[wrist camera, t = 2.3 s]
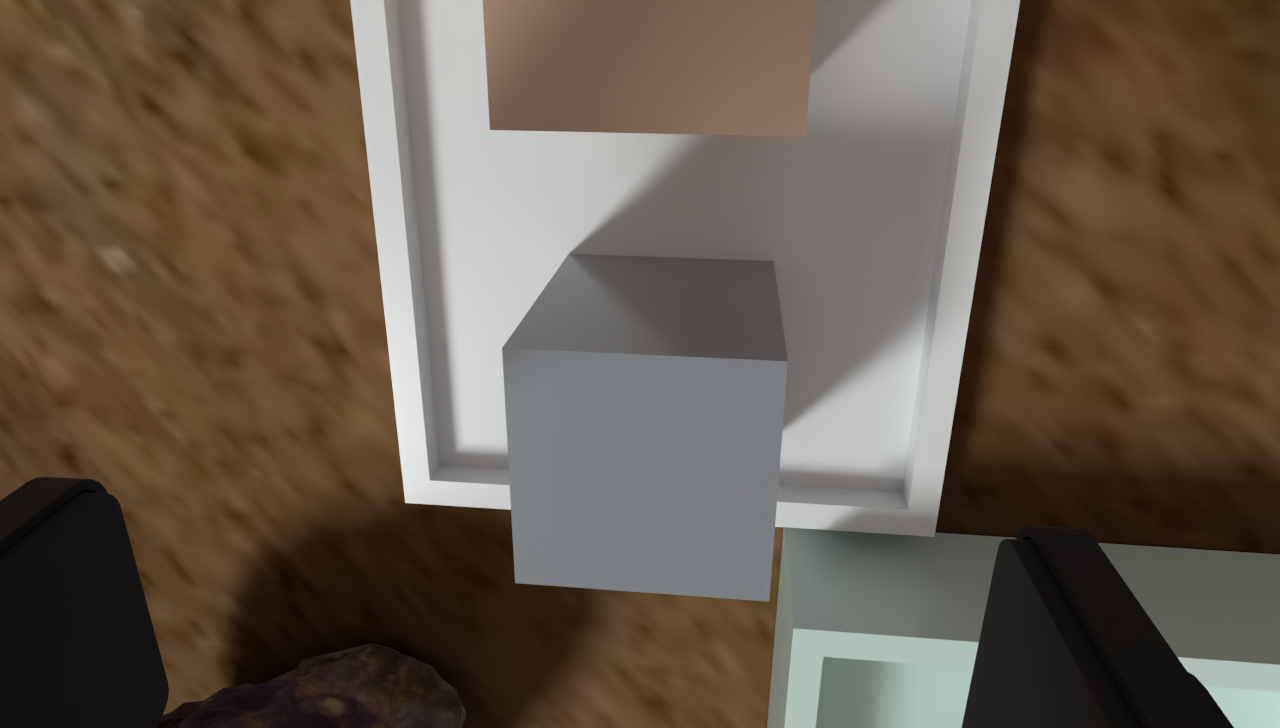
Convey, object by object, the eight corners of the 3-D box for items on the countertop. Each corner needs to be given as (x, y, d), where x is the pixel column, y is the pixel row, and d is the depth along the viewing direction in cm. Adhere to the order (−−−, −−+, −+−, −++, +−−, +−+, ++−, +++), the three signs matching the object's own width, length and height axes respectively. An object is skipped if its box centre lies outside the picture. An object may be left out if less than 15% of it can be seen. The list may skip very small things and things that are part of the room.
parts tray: (1039, -267, 14) (1067, -291, 12) (922, 505, 19) (934, 536, 18) (351, -252, 15) (320, -273, 14) (423, 475, 20) (405, 502, 19)
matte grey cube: (774, 260, 17) (788, 361, 12) (761, 445, 18) (769, 601, 13) (568, 253, 17) (502, 348, 12) (572, 435, 19) (515, 583, 14)
